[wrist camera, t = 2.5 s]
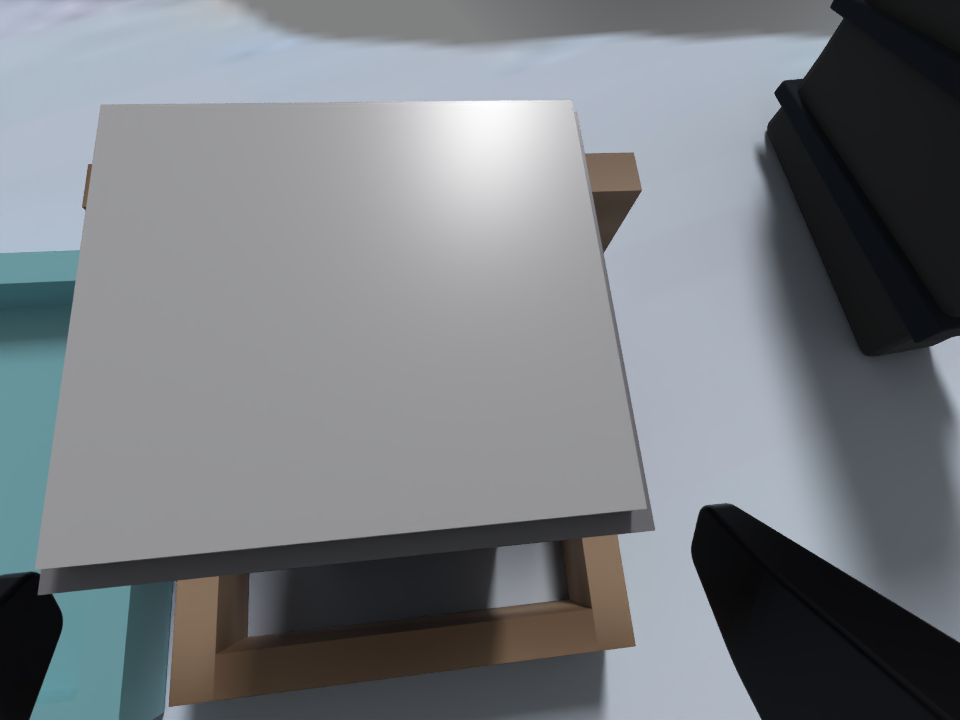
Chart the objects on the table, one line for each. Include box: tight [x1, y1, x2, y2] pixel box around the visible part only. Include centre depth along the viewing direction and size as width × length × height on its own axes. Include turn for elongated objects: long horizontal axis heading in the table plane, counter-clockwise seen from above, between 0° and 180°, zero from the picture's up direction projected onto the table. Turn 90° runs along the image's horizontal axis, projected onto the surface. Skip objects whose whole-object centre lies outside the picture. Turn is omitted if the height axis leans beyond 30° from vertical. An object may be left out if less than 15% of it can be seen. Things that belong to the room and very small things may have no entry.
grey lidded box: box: [35, 100, 655, 595], centre depth 11 cm, size 5×6×13 cm
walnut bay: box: [82, 153, 642, 707], centre depth 14 cm, size 11×12×8 cm
